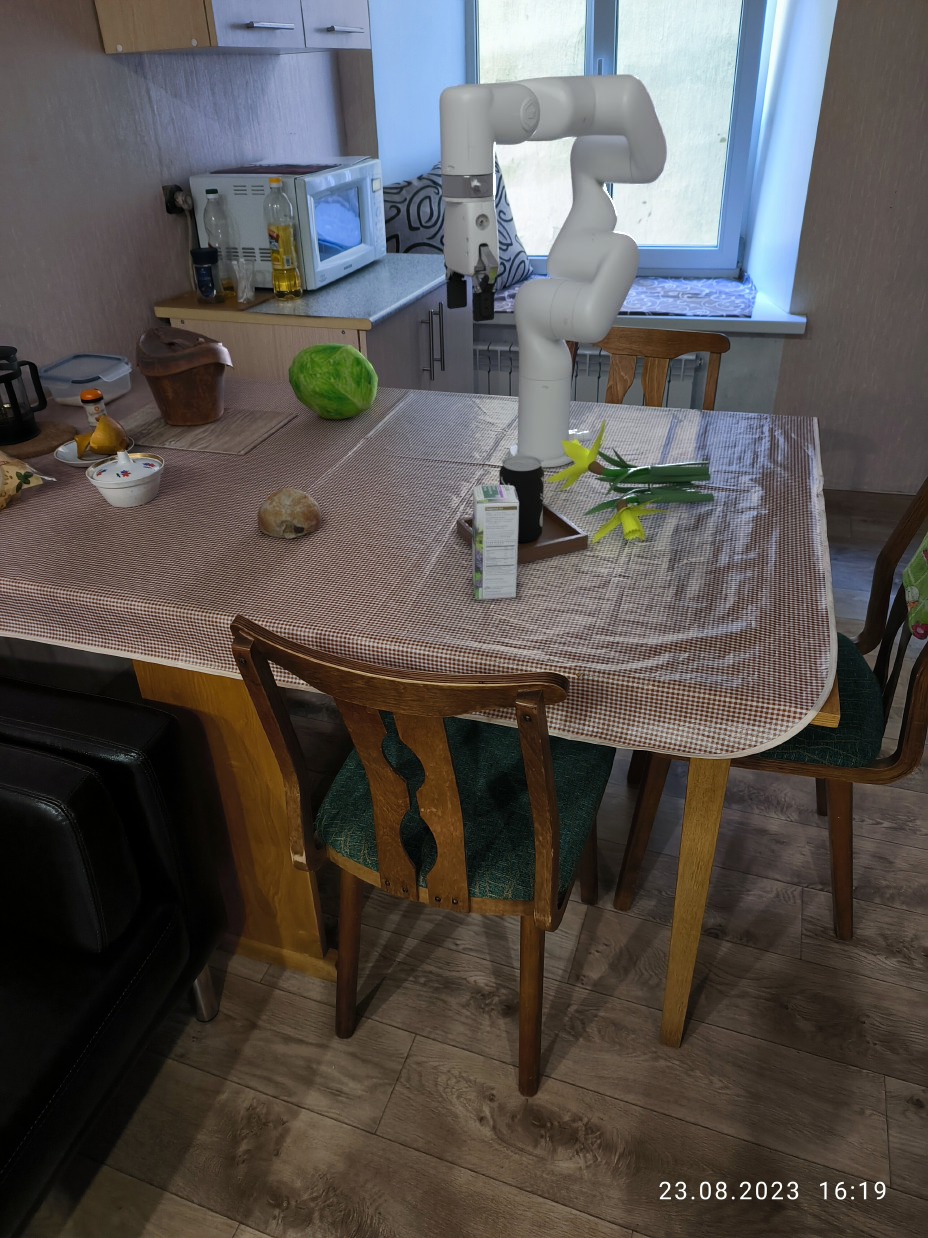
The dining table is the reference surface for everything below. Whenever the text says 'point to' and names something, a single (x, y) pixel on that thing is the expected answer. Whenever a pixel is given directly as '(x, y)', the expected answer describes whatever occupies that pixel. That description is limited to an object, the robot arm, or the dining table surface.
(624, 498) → the daffodil flowers
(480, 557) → the syrup box
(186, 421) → the brown tapered bucket shape
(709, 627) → the dining table surface
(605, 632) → the dining table surface
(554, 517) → the tray
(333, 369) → the lettuce
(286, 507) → the bread roll
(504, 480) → the beverage can
